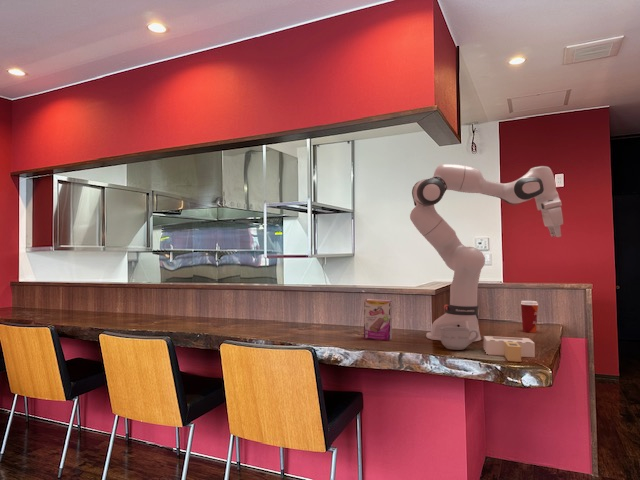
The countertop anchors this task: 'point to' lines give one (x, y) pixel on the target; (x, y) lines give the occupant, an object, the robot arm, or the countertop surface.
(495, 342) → the ticket block
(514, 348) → the stub
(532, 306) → the paper cup
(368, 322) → the candy bar box
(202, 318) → the countertop surface
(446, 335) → the teacup
